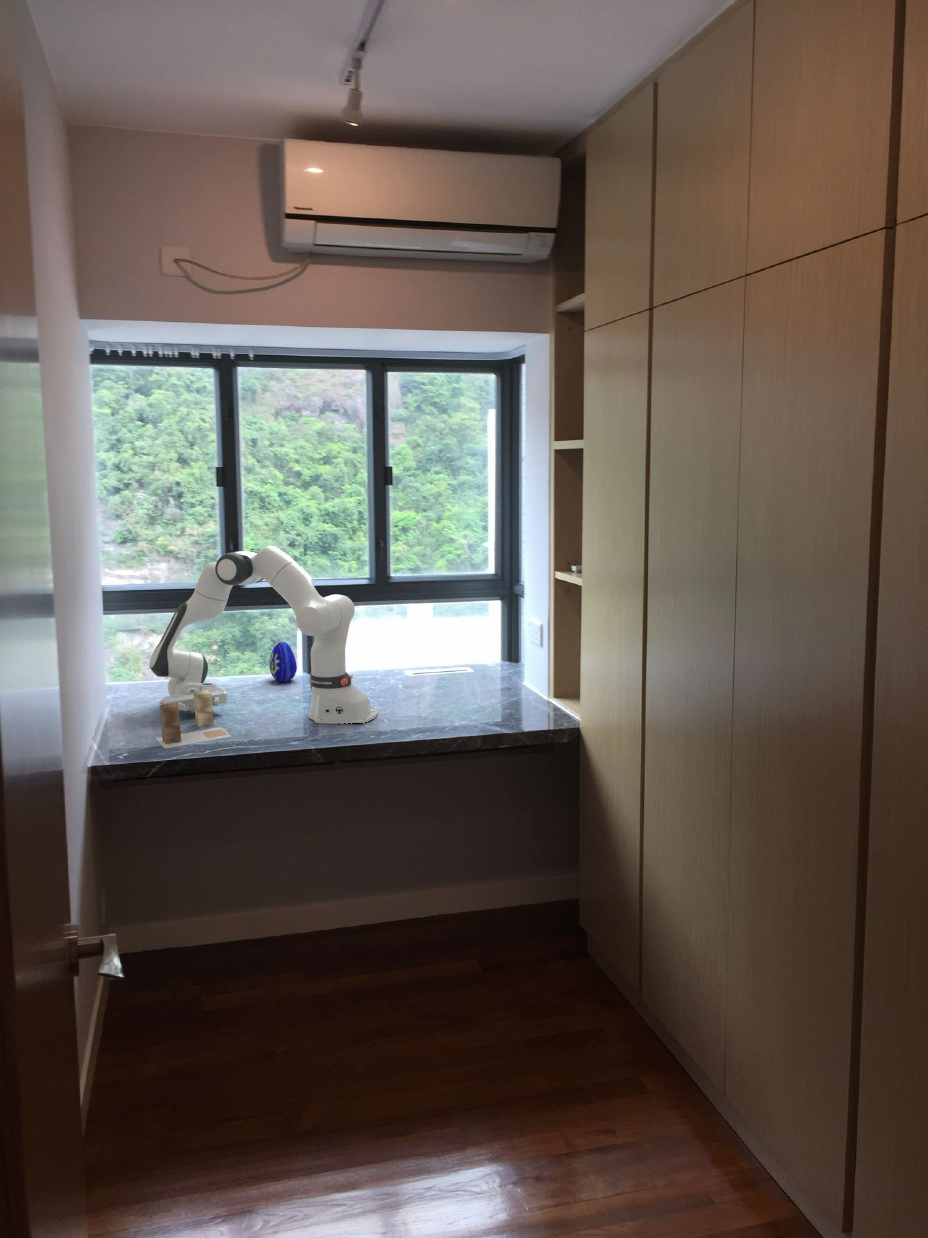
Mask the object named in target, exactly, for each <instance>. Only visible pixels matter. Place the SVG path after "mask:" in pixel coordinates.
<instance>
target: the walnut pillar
mask: <svg viewBox="0 0 928 1238" xmlns="http://www.w3.org/2000/svg"><path fill="white" fill-rule="evenodd" d="M159 711H160V713H159V714H160V725H161V735H162V736H161V737H162V739H163V741H164V742H165V744H171V743H177V742H181V734H182V733H181V732H182V731H181V723H180V722H181V720H180V711H179V706H178V705H177V704H176V703H170V704H164V705H161V704H159Z"/></svg>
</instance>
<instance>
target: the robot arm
mask: <svg viewBox="0 0 928 1238" xmlns="http://www.w3.org/2000/svg"><path fill="white" fill-rule="evenodd" d="M263 580H264V581H265V582H267V583H268V585H270V586H271V587H272V589H274V590H275V591H276V593H278V594H279V595H280V596H281V597H282V598H283V599H284V600H285V601H286V602H287V604H288V605H289V606H290V608H291V609H292V611H293V613H294V615H295V622H296V626H297V628H298V629H299V631H300V632H301V633H302V634H303V635H305V636H309V637H312V636H313V637H315V639H314V642H313V644H312V646H311V649H310V667H311V669H310V671H311V672H310V675H309V677H310V679H309V683H310V689H311V695H310V696H311V697H310V706H309V712H308V715H307V716H308V719H310V720H313V721H314V723H315V724H326V725H327V724H330V725H331V724H334V725H337V724H338V723H339V724H338V725H341V724H342V725H349V724H348V723H351V724H350V725H353V724H352V723H363V724H366V723H365V722H367V723H368V721H369V722H371V721H372V719H373V720H374V719H375V718H376V717H377V716H378V710H377V709H376V708H375V709H374V708H371V702H370V698H369V695H367V694H366V693H364V692H363V691H361V690H360V689H359V688H357V686H355V685H353V683H352V679H354V674H348V672H347V671H346V668H347V667H346V645H347V639H348V634H349V630H350V624H351V622H352V619H353V618H354V616H355V611H356V610H355V604H354V602H353V601H352V599H350V598H349V596H346V595H343V594H331V595H327V596H324V597H323V596H322V595H320V594H319V592H318V591H317V589H316V587H315V586H314V579H313V577H312V576H311V575H310V574H309V573H308V572H307V571H306V570H305V569H303V568H302V566H301V565H299V563H297V562H296V561H295V560H294V559H293V558H292V557H291V556H290V555H288V554H287V553H285V552H284V551H282V549H279V548H278V547H276V546H274V545H266V546H264V547H262V548H261V549H259V550H258V551H246V550H245V551H244V550H243V551H242V550H241V551H240V550H238V551H234V552H227V553H225V554H223V555H222V556H220V557H219V558H218V559H217V561H211V562H208V563H206V565H205V566H204V567H203V570H202V572H200V575H199V578H198V580H197V582H196V586H195V588H194V592H193V594H192V595H191V596H190V598H188V600H186V602H183V603H180V605H178V607H177V608H176V610H175V612H174V614H173V616H172V617H171V619H170V621H169V623H168V626H167V627H166V629H165V631H164V632H163V634H162V636H161V639H160V640H159V643H158V644H157V646H156V647H155V649H154V650H153V652H152V654H151V655H150V659H149V664H148V666H149V669H150V670H151V672H152V673H153V674H154V675H155V676H156V677H159V678H169V680H168V683H167V691H168V694H169V695H167V696H165V697H163V699H162V700H159V702H158V703H159V705H164V704H170V703H176V704H177V705H178V706H179V712H180V711H183V712H188V711H195V704H194V692H198V691H205V690H208V691H209V692H211V693H212V707H219V705H223V704H227V703H228V700H229V699H228V692H227V691H226V690H225V689H224V688H222V687H220V686H217V684H216V683H215V682H212V683H211V682H210V683H204V682H205V681H206V679H207V675H208V670H209V665H208V660H207V659H206V657H205V655H204V654H203V653H202V652H198V651H191V650H185V649H177V648H174V647H175V645H176V643H177V641H178V639H179V637H180V635H181V633H182V631H183V630H184V629H185V628H186V627H188V626H189V625H192V624H196V623H201V622H202V623H203V622H208V621H211V620H214V619H217V618H218V617H219V616H221V615H222V614H223V612H224V611H225V608H226V607H227V603H228V599H229V596H230V593H231V591H232V588H233V586H234V587H235V586H247V585H252V584H257V583H261V582H263ZM370 720H371V721H370ZM344 723H346V724H344Z"/></svg>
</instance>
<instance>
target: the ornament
mask: <svg viewBox="0 0 928 1238" xmlns="http://www.w3.org/2000/svg"><path fill="white" fill-rule="evenodd" d="M268 663H269V664H268V667H269V672H270V674H271V676H272V677H273V678H274V680H275V681H277V682H279V683H287V682H290V681H292V680H293V679H294V677H295V676H296V674H297V669H298V668H297V660H296V656H295V655H294V652H293V650H292V648H291V646H290V645H289V644H288V643H287V642H286V641H281V642H278V643H276V645H274V647H273V649H272V651H271V654H270V658H269V662H268Z"/></svg>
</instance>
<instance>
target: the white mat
mask: <svg viewBox="0 0 928 1238" xmlns="http://www.w3.org/2000/svg"><path fill="white" fill-rule="evenodd" d="M231 737H232V735H231V734H229V733H228V732H227V731H226V729H224V728H223V727H222V726H220V727H213V728H207V729H202V730H201V729H200V730H196V731H195V730H194V731H190V732H183V733H181V742H177V743H171V744H165V742H164V741H163V739H162V736H160V737H155V739H156V740H157V741H158V743H160V745H161V746H162V747H163V748H164V749H168V748H175V747H180V746H186V745H191V744H198V743H204V742H208V741H209V742H210V741H215V740H221V739H225V738H231Z"/></svg>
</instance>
